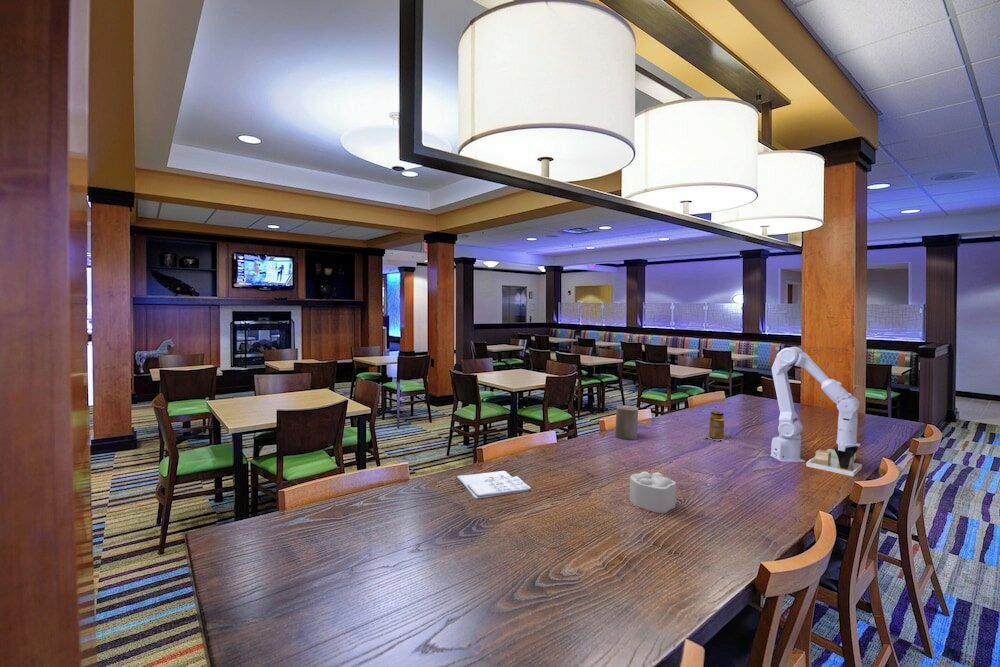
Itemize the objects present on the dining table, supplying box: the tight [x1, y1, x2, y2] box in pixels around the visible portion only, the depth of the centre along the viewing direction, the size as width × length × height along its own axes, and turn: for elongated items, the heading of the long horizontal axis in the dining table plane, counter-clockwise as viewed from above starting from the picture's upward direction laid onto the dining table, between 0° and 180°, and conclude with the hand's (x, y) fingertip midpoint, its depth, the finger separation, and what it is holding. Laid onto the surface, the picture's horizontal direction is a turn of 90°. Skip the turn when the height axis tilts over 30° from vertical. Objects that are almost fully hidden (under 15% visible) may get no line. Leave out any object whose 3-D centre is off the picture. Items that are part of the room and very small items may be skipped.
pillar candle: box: [615, 405, 639, 441], centre depth 217 cm, size 10×10×15 cm
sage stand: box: [825, 448, 857, 461], centre depth 186 cm, size 9×9×2 cm
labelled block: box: [837, 456, 855, 471], centre depth 173 cm, size 4×4×5 cm
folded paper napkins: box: [456, 470, 532, 500], centre depth 158 cm, size 19×20×2 cm
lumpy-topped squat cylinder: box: [629, 471, 677, 514], centre depth 143 cm, size 10×13×9 cm
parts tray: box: [805, 456, 863, 478], centre depth 176 cm, size 14×13×2 cm
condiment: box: [704, 410, 725, 439], centre depth 216 cm, size 7×8×12 cm
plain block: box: [814, 449, 831, 467], centre depth 178 cm, size 4×4×5 cm
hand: (845, 466), depth 173 cm, fingers open, 4 cm apart
